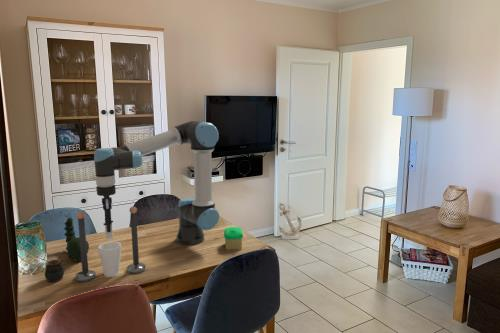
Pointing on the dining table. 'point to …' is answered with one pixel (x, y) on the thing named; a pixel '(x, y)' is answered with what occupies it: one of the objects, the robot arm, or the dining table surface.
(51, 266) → the mate gourd
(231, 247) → the cake
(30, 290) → the dining table surface
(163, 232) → the dining table surface
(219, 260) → the dining table surface
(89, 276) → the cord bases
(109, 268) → the foam cup
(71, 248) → the toy figurine
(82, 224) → the dark gray rod
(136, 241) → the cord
